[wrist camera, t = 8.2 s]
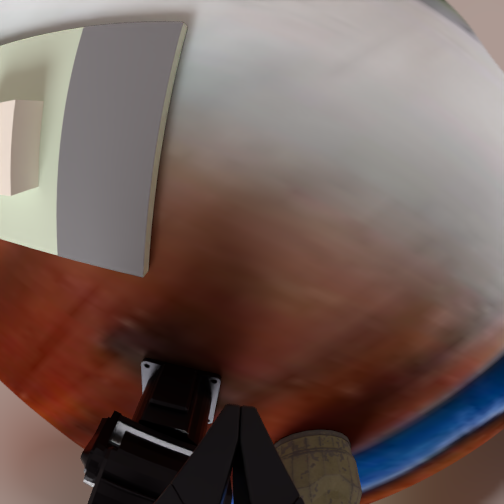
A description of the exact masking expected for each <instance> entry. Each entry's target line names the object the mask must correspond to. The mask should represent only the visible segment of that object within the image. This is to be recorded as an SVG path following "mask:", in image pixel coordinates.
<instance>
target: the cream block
mask: <svg viewBox="0 0 504 504" xmlns="http://www.w3.org/2000/svg"><path fill="white" fill-rule="evenodd" d="M43 104H44V101H34V100H11V101H6V102H1V103H0V195H6V196H12V195H15V194H18V193H21V192H24V191H27V190H30V189H33V188H36V187H38V174H39V147H40V133H41V122H42V112H43Z"/></svg>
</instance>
